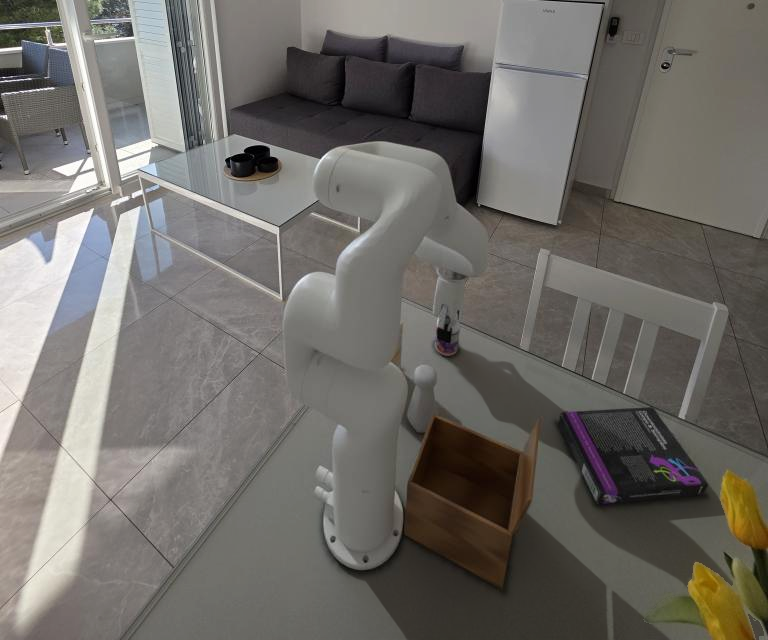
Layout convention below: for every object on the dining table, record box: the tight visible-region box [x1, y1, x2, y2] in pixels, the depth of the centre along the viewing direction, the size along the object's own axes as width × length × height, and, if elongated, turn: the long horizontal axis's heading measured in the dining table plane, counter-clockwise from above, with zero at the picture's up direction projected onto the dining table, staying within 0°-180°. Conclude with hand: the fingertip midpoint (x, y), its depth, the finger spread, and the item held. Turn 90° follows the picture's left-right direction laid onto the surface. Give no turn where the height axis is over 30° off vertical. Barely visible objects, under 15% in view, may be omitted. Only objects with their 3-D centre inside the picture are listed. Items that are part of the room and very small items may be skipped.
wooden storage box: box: [403, 414, 523, 590], centre depth 67 cm, size 15×12×12 cm
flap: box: [512, 418, 542, 534], centre depth 60 cm, size 7×12×1 cm
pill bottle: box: [434, 313, 461, 357], centre depth 99 cm, size 5×5×10 cm
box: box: [558, 406, 710, 505], centre depth 77 cm, size 14×4×20 cm
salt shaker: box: [406, 364, 438, 434], centre depth 81 cm, size 6×6×13 cm
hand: (447, 330), depth 99 cm, fingers closed on pill bottle, 5 cm apart
